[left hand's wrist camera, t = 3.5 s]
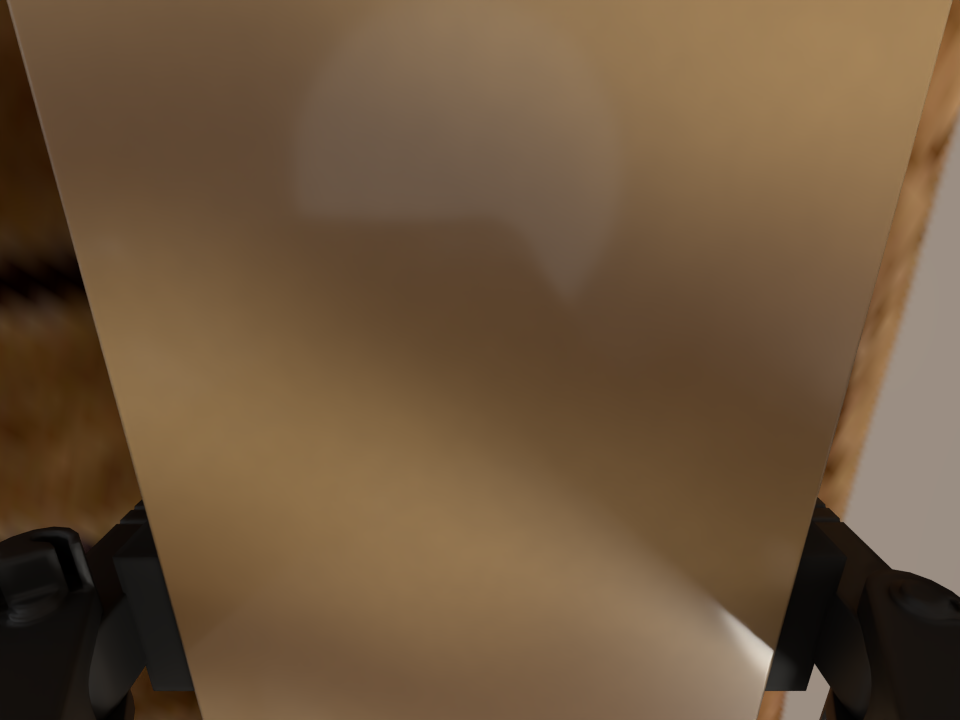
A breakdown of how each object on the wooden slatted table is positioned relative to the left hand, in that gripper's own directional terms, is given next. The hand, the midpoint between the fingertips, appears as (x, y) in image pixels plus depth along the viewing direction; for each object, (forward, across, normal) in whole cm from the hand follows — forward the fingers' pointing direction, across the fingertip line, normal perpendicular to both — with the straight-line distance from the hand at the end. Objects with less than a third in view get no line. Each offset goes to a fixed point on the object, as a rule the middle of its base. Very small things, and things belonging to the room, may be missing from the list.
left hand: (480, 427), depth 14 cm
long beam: (0, 0, -31) cm, 31 cm away
